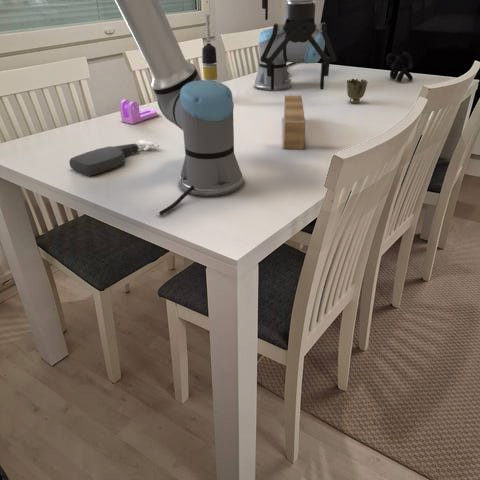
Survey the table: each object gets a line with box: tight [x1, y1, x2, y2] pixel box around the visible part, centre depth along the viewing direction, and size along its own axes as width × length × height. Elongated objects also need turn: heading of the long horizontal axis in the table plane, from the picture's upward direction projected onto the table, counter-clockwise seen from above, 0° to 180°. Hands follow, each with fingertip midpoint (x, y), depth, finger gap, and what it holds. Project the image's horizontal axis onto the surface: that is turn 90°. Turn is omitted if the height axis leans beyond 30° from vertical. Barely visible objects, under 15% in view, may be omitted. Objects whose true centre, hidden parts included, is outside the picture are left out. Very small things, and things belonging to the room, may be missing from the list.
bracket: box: [118, 99, 158, 125], centre depth 156 cm, size 13×6×7 cm, turn 143°
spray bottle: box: [68, 139, 160, 177], centre depth 124 cm, size 3×11×24 cm
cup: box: [346, 78, 368, 104], centre depth 168 cm, size 8×7×8 cm
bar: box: [283, 94, 306, 150], centre depth 140 cm, size 30×6×8 cm, turn 175°
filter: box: [201, 14, 218, 82], centre depth 171 cm, size 6×6×30 cm
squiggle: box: [385, 51, 414, 83], centre depth 198 cm, size 11×10×15 cm
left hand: (296, 88), depth 124 cm, fingers open, 13 cm apart
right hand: (286, 19), depth 153 cm, fingers open, 13 cm apart
